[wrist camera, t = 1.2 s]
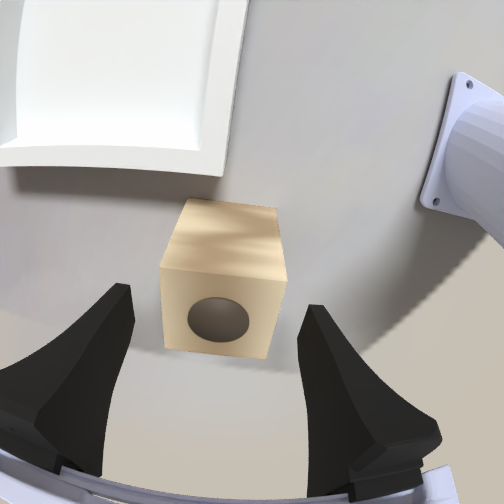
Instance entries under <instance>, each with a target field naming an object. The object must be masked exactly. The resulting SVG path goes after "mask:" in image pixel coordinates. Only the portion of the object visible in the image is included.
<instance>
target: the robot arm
mask: <svg viewBox="0 0 504 504" xmlns="http://www.w3.org/2000/svg"><path fill="white" fill-rule="evenodd" d="M467 81H468V82H469V87H468V88H467V86H466V82H467ZM435 198H437V200H436V202H434V203H433V200H434V199H435ZM420 203H421V204H422V205H423V206H424V207H426V208H429V209H433V210H437V211H441V212H445V213H449V214H453V215H457V216H461V217H464V218H468V219H472V220H475V221H476V222H477V223H478V224H479V225H480V226H481V227H482V228H483V229H485V230H486V231H487V232H488V233H489V234H490V235H491V236H492V237H493V238H494V239H495V240H496V241H497V242H498V243H499V244H500V245H501V246H502V247H503V248H504V97H503V96H502V95H500V94H499V93H497V92H496V91H494V90H493V89H491V88H489V87H488V86H486V85H484V84H483V83H481V82H479V81H478V80H476V79H474V78H473V77H471V76H469V75H467V74H465V73H463V72H455V73H454V75H453V78H452V83H451V88H450V92H449V97H448V101H447V106H446V110H445V114H444V118H443V122H442V126H441V130H440V134H439V137H438V141H437V144H436V148H435V151H434V155H433V158H432V161H431V165H430V168H429V171H428V174H427V177H426V180H425V183H424V186H423V189H422V192H421V195H420ZM134 324H135V316H134V310H133V303H132V296H131V288H130V285H127V284H120V283H116V284H114V285H113V286H112V287H111V288H110V289H109V290H108V291H107V292H106V293H105V294H104V295H103V296H102V297H101V298H100V299H99V300H98V301H97V302H96V303H95V304H94V305H93V306H92V307H91V308H90V309H89V310H88V311H87V312H86V313H84V314H83V315H82V316H81V317H80V318H79V319H78V320H77V321H76V322H75V323H73V324H72V325H71V326H70V327H69V328H68V329H67V330H65V331H64V332H63V333H62V334H60V335H59V336H58V337H56V338H55V339H54V340H52V341H51V342H50V343H48V344H47V345H45V346H44V347H42V348H41V349H39V350H38V351H36V352H34V353H33V354H31V355H29V356H28V357H26V358H24V359H22V360H20V361H19V362H17V363H15V364H13V365H11V366H8V367H6V368H4V369H1V370H0V498H2V499H4V500H6V501H7V502H9V503H11V504H118V503H114V502H112V501H109V500H106V499H103V498H100V497H97V496H94V495H98V496H101V497H105V498H108V499H112V500H116V501H120V502H124V503H128V504H459V500H458V496H457V492H456V488H455V484H454V480H453V477H452V473H451V469H450V466H449V465H444V466H441V467H438V468H435V469H432V470H429V471H426V472H424V473H422V474H421V470H420V468H421V467H423V460H422V458H423V457H425V456H426V455H428V454H429V453H430V452H432V451H433V450H435V449H436V448H437V447H438V446H439V445H440V444H441V442H442V436H441V433H440V430H439V427H438V424H437V422H436V420H434V419H433V418H431V417H429V416H428V415H426V414H425V413H423V412H422V411H420V410H418V409H417V408H415V407H414V406H413V405H411V404H410V403H408V402H407V401H406V400H404V399H403V398H402V397H401V396H399V395H398V394H397V393H396V392H395V391H393V390H392V389H391V388H390V387H389V386H388V385H387V384H386V383H384V382H383V381H382V380H381V379H380V378H379V377H378V376H377V375H376V374H375V373H374V372H373V371H372V369H370V367H369V366H368V365H367V364H366V363H365V362H364V360H363V359H362V358H361V357H360V356H359V354H358V353H357V352H356V351H355V349H354V348H353V347H352V345H351V344H350V343H349V341H348V340H347V339H346V337H345V336H344V335H343V333H342V332H341V330H340V329H339V327H338V326H337V325H336V323H335V322H334V320H333V319H332V317H331V316H330V314H329V313H328V311H327V310H326V308H325V307H324V306H323V305H311V304H309V306H308V309H307V312H306V315H305V318H304V320H303V323H302V326H301V329H300V332H299V334H298V337H297V345H298V361H299V367H300V373H301V378H302V383H303V389H304V395H305V400H306V407H307V415H308V440H309V467H308V468H309V469H308V487H307V498H299V499H281V500H280V499H279V500H237V499H219V498H206V497H195V496H187V495H179V494H172V493H166V492H160V491H153V490H149V489H144V488H139V487H133V486H130V485H125V484H121V483H117V482H113V481H109V480H105V479H102V478H99V477H100V476H102V463H103V462H102V461H103V449H104V440H105V432H106V425H107V419H108V413H109V407H110V403H111V397H112V393H113V390H114V386H115V383H116V380H117V377H118V374H119V372H120V369H121V366H122V363H123V360H124V358H125V355H126V352H127V349H128V347H129V344H130V341H131V337H132V332H133V328H134ZM93 494H94V495H93Z"/></svg>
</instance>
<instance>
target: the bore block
mask: <svg viewBox="0 0 504 504" xmlns="http://www.w3.org/2000/svg"><path fill="white" fill-rule="evenodd" d="M159 273H160V292H161V308H162V321H163V333H164V344H165V348H167V349H174V350H181V351H188V352H196V353H205V354H213V355H223V356H233V357H244V358H257V359H266V357H267V353H268V350H269V346H270V343H271V339H272V336H273V332H274V329H275V325H276V322H277V318H278V315H279V311H280V307H281V304H282V300H283V296H284V293H285V289H286V285H287V275H286V268H285V262H284V256H283V249H282V243H281V237H280V231H279V225H278V219H277V213H276V208H271V207H264V206H256V205H248V204H240V203H231V202H223V201H214V200H205V199H195V198H188V199H187V201H186V204H185V206H184V208H183V210H182V213H181V215H180V217H179V220H178V222H177V224H176V227H175V229H174V232H173V234H172V236H171V239H170V241H169V244H168V246H167V249H166V251H165V254H164V256H163V259H162V261H161V264H160V266H159Z"/></svg>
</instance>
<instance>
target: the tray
mask: <svg viewBox="0 0 504 504" xmlns="http://www.w3.org/2000/svg"><path fill="white" fill-rule="evenodd" d="M249 2H250V0H0V167H4V166H78V167H106V168H126V169H142V170H156V171H169V172H181V173H192V174H202V175H211V176H221V177H223V173H224V169H225V165H226V161H227V153H228V145H229V137H230V129H231V122H232V114H233V107H234V99H235V92H236V85H237V78H238V71H239V64H240V58H241V51H242V45H243V38H244V32H245V26H246V20H247V14H248V8H249Z"/></svg>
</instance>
